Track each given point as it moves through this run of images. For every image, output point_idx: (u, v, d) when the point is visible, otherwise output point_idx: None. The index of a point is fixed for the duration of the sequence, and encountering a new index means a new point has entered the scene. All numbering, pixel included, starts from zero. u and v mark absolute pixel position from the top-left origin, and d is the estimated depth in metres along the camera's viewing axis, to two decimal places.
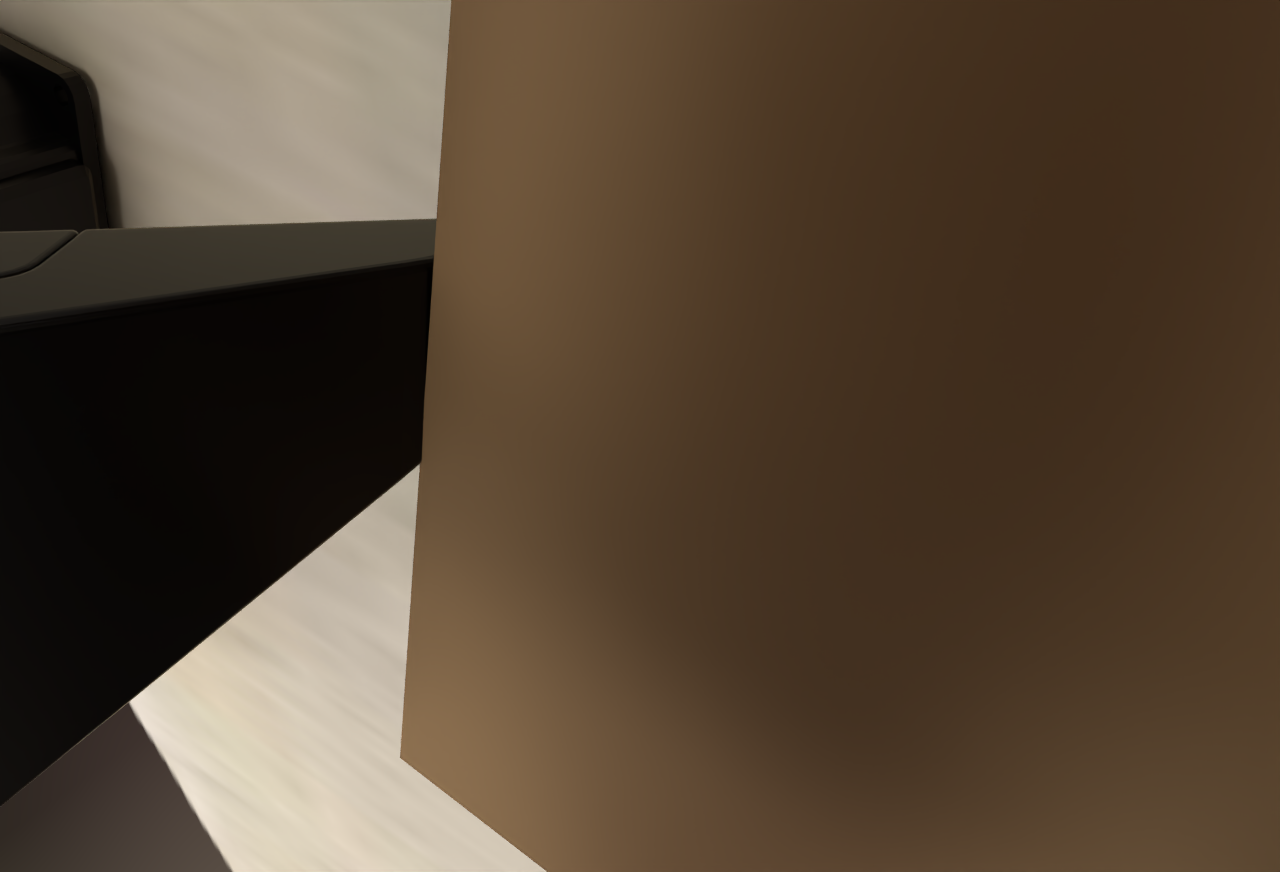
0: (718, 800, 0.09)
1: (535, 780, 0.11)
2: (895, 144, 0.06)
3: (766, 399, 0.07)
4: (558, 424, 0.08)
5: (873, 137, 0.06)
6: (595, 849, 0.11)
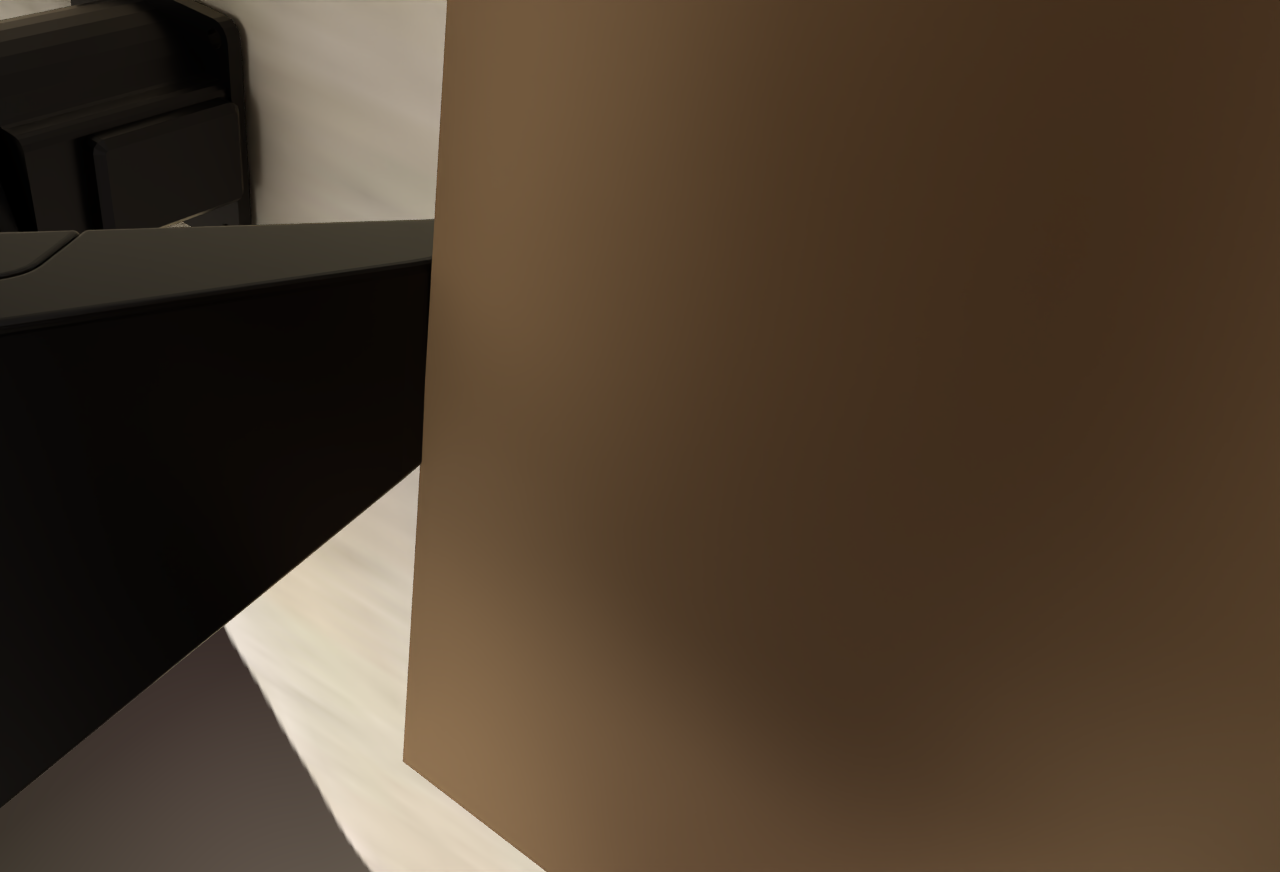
0: (720, 800, 0.09)
1: (537, 784, 0.11)
2: (891, 140, 0.06)
3: (765, 397, 0.07)
4: (558, 424, 0.08)
5: (867, 133, 0.06)
6: (597, 851, 0.11)
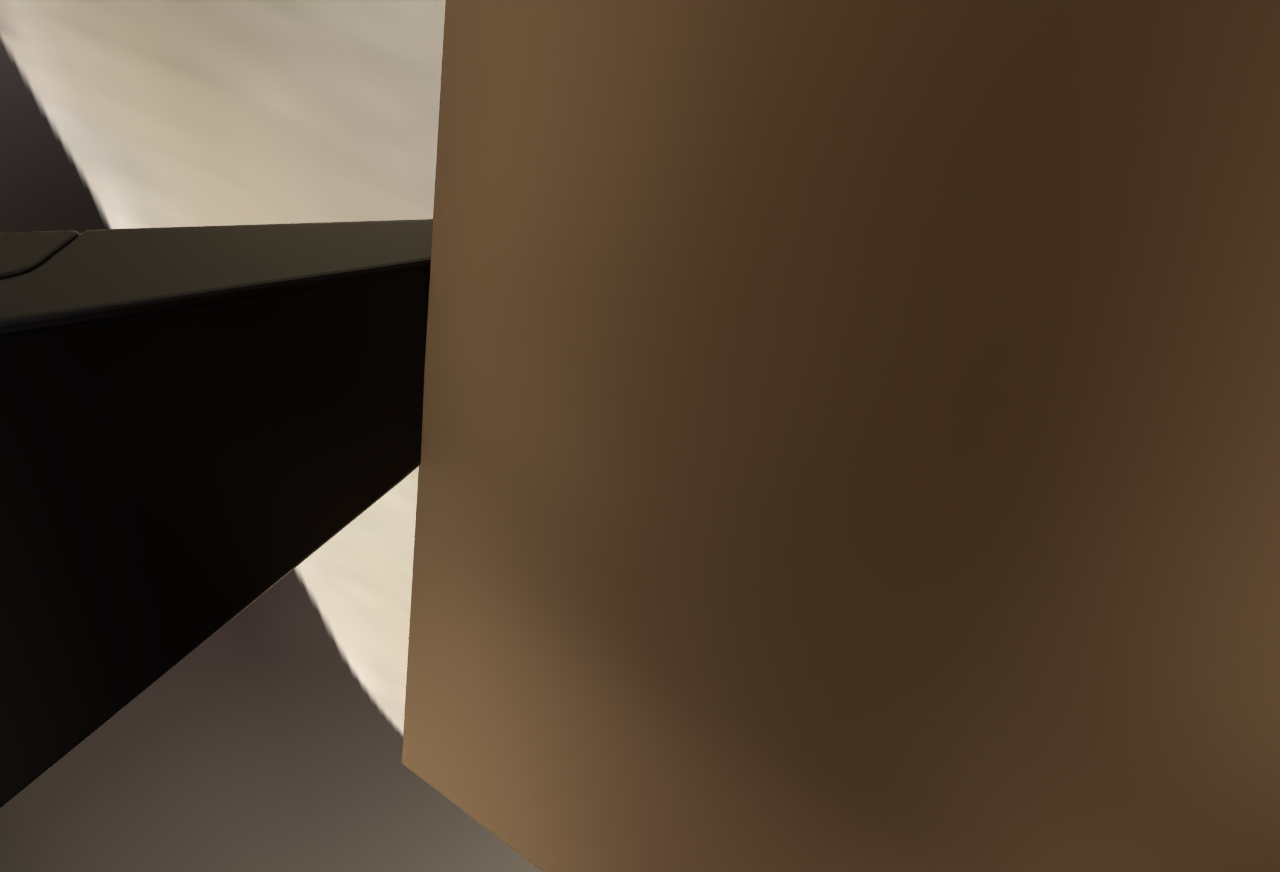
0: (718, 801, 0.09)
1: (536, 786, 0.11)
2: (887, 144, 0.06)
3: (763, 400, 0.07)
4: (556, 427, 0.08)
5: (865, 137, 0.06)
6: (596, 853, 0.11)
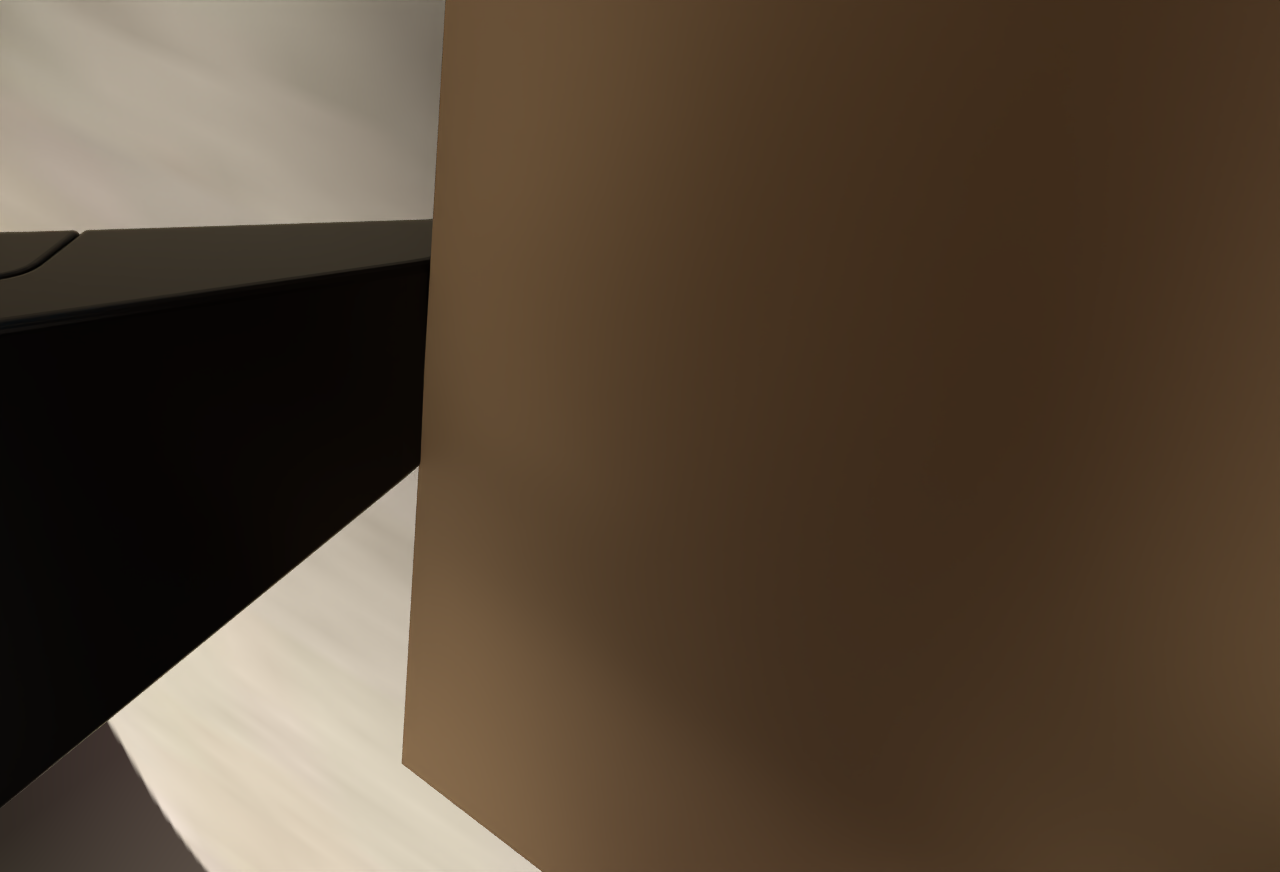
0: (718, 801, 0.09)
1: (536, 786, 0.11)
2: (889, 144, 0.06)
3: (761, 400, 0.07)
4: (556, 428, 0.08)
5: (863, 135, 0.06)
6: (596, 853, 0.11)
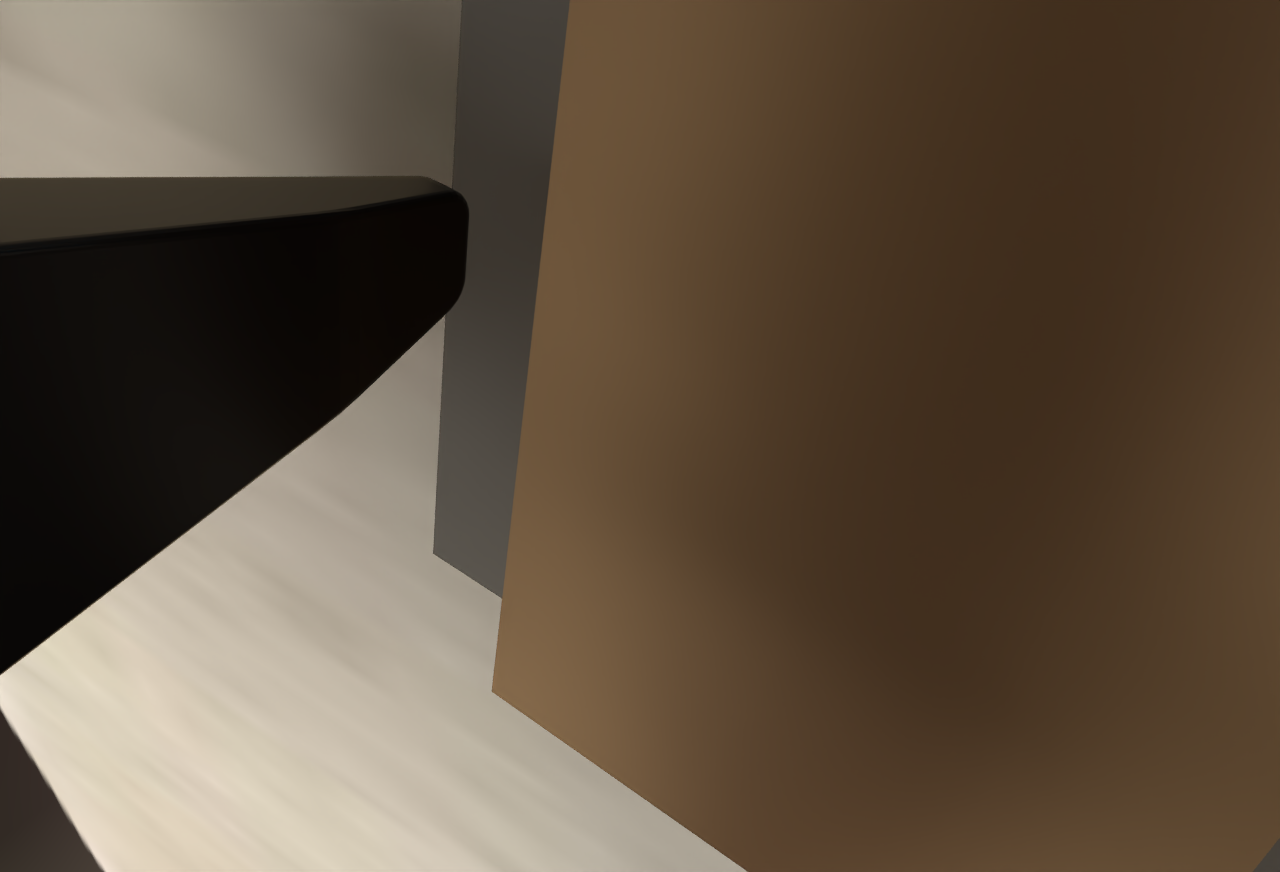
0: (803, 704, 0.10)
1: (625, 703, 0.12)
2: (981, 85, 0.07)
3: (857, 323, 0.08)
4: (660, 358, 0.09)
5: (959, 78, 0.07)
6: (682, 763, 0.11)
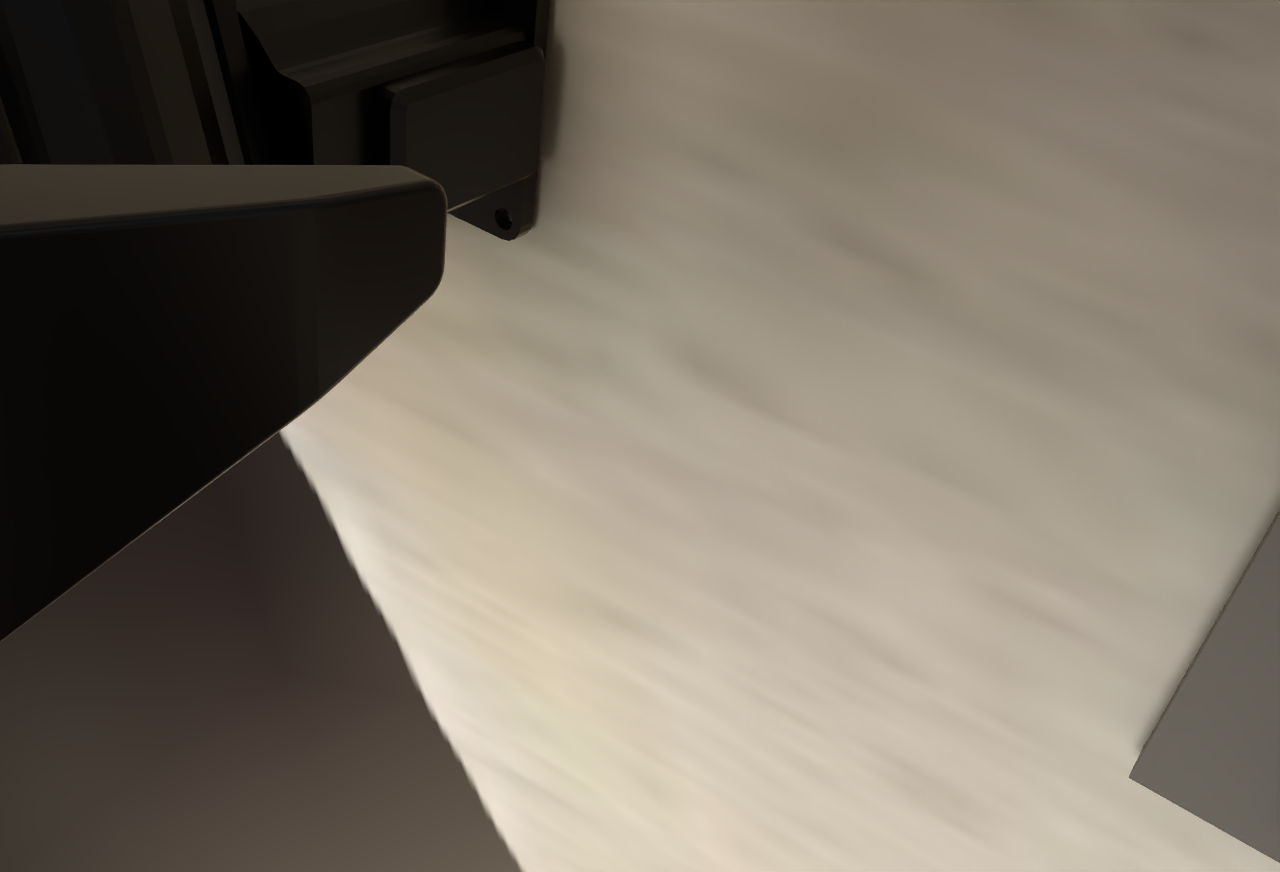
0: None
1: None
2: None
3: None
4: None
5: None
6: None
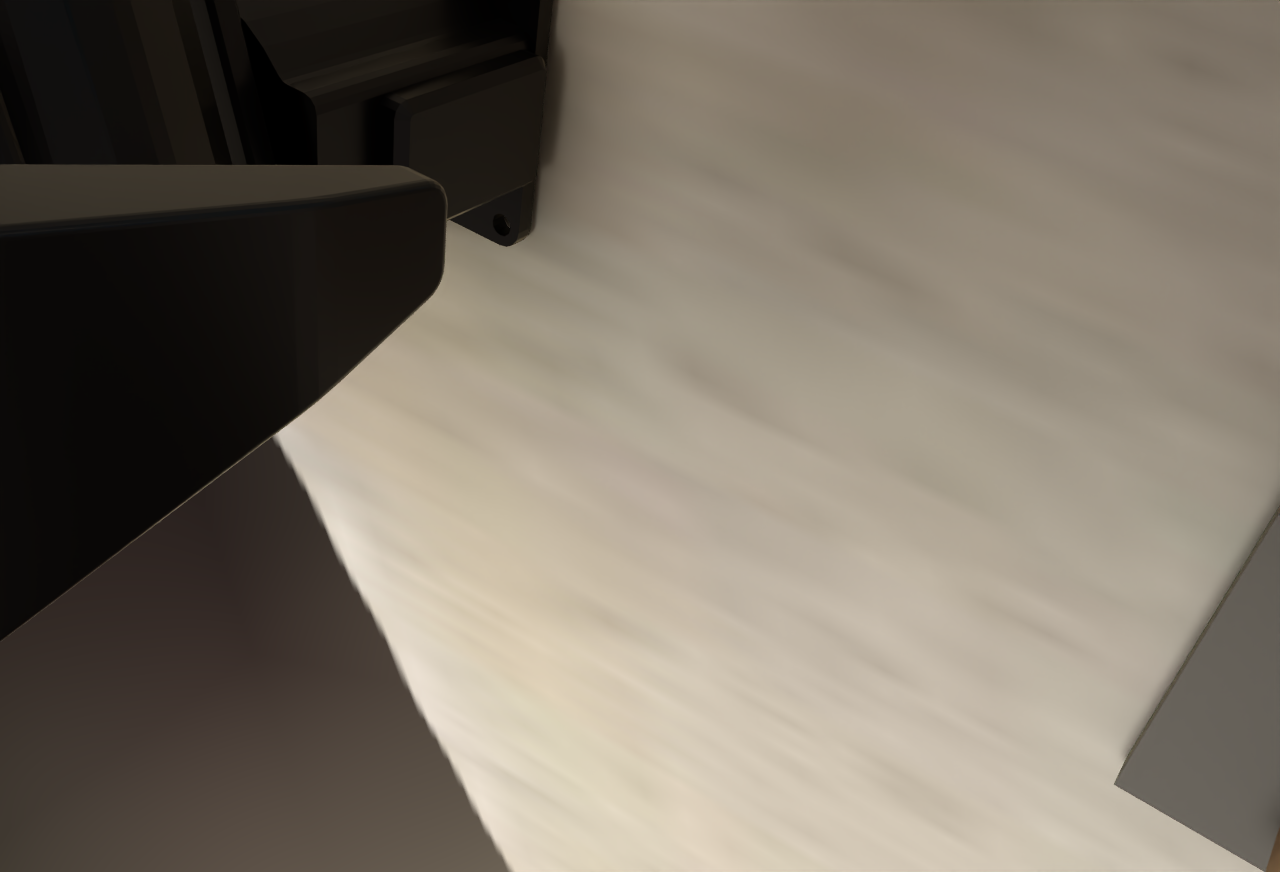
0: None
1: None
2: None
3: None
4: None
5: None
6: None
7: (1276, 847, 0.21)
